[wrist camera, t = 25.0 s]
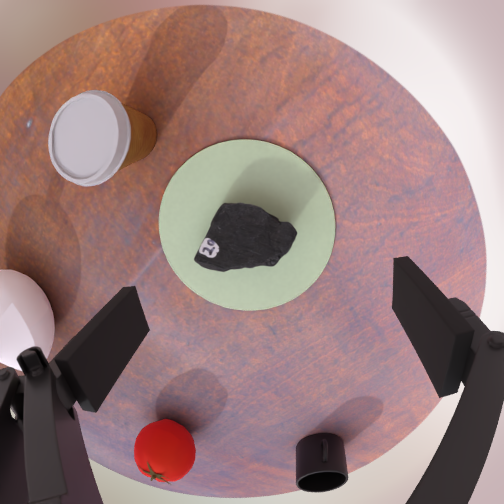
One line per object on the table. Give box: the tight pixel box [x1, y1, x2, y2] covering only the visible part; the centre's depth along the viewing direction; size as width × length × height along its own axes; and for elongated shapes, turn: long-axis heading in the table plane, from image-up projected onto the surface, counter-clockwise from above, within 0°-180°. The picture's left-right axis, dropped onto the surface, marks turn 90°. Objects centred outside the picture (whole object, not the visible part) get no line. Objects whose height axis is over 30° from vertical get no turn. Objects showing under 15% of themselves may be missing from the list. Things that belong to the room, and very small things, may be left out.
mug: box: [296, 433, 348, 492], centre depth 47 cm, size 9×12×9 cm
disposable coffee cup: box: [48, 90, 157, 186], centre depth 30 cm, size 10×10×12 cm
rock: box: [194, 203, 297, 272], centre depth 36 cm, size 9×10×6 cm
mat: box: [159, 139, 335, 311], centre depth 38 cm, size 22×22×1 cm
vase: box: [0, 269, 55, 371], centre depth 37 cm, size 18×18×19 cm
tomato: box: [134, 419, 196, 484], centre depth 47 cm, size 12×12×13 cm
